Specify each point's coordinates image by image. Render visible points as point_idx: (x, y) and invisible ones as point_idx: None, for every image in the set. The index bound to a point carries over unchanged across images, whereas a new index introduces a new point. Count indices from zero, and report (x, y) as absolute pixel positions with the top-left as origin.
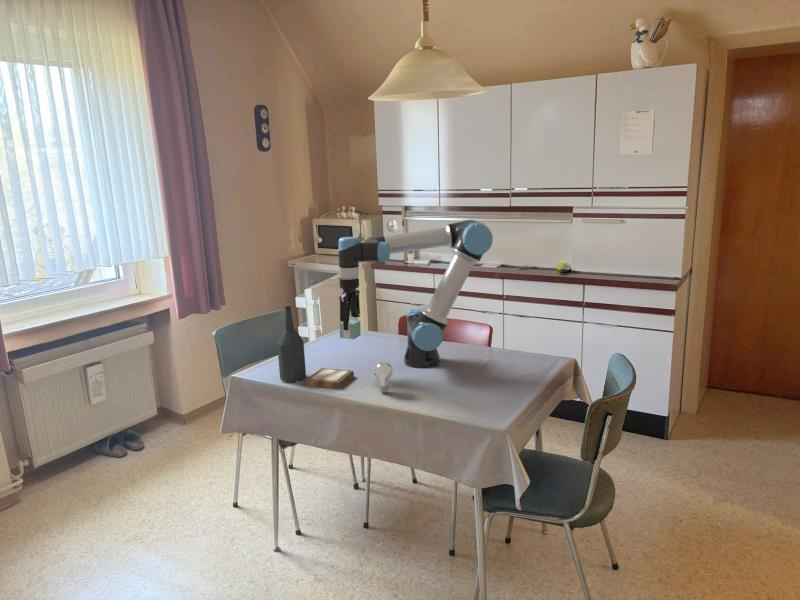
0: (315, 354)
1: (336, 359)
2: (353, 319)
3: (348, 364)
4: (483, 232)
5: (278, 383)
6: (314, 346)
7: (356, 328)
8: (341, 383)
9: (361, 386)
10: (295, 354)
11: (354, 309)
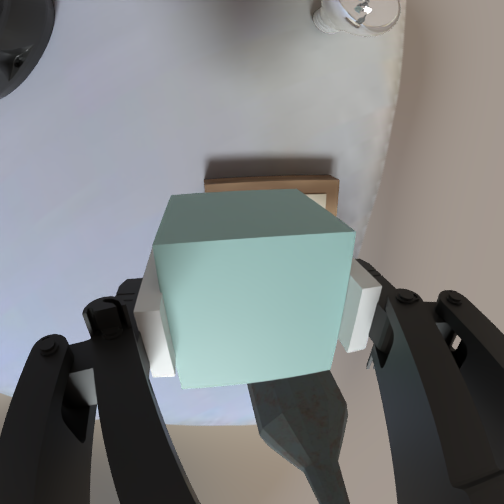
0: None
1: (82, 317)
2: (169, 331)
3: (98, 262)
4: None
5: None
6: None
7: (268, 212)
8: (313, 177)
9: (289, 110)
10: (326, 375)
11: (166, 434)
